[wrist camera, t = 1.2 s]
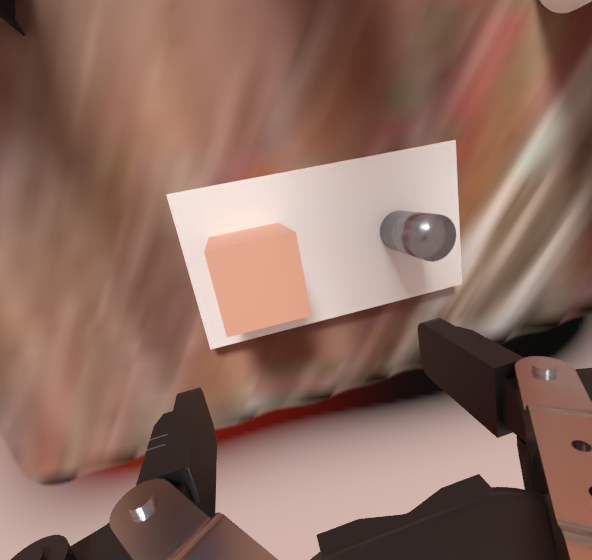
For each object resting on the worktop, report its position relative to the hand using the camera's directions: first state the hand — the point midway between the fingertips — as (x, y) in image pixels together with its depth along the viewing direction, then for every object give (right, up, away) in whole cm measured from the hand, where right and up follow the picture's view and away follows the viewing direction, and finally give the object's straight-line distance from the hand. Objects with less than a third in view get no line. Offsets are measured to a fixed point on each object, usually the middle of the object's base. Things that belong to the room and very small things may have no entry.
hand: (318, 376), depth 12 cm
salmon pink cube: (-4, +5, +16) cm, 17 cm away
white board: (+2, +7, +18) cm, 19 cm away
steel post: (+8, +8, +18) cm, 21 cm away
